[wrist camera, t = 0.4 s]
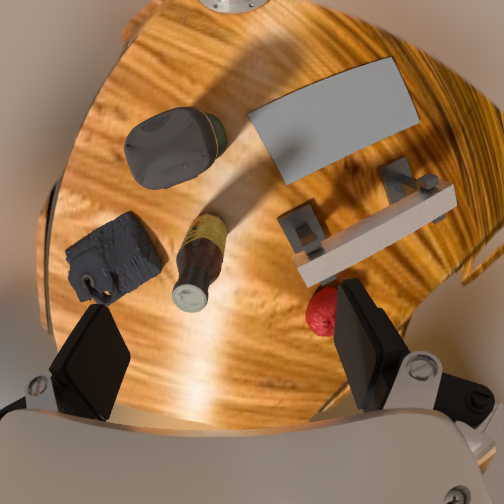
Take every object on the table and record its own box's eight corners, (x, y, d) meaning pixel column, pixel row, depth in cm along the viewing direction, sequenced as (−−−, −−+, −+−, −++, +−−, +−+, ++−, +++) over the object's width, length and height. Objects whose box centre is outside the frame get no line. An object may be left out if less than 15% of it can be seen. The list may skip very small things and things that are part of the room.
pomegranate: (293, 308, 55) (299, 339, 47) (326, 273, 52) (338, 301, 43) (327, 327, 58) (336, 357, 49) (358, 295, 54) (373, 323, 46)
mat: (247, 114, 39) (247, 114, 38) (389, 57, 34) (391, 56, 33) (286, 184, 44) (286, 185, 43) (417, 122, 39) (420, 122, 38)
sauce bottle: (197, 205, 45) (169, 261, 27) (232, 218, 46) (226, 280, 28) (186, 239, 48) (156, 308, 30) (219, 251, 49) (208, 325, 31)
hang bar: (292, 255, 38) (297, 268, 35) (439, 178, 33) (453, 184, 30) (302, 274, 39) (307, 287, 36) (443, 198, 35) (457, 205, 31)
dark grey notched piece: (175, 273, 51) (170, 287, 47) (99, 307, 54) (91, 320, 50) (133, 204, 45) (123, 212, 41) (60, 252, 48) (49, 262, 44)
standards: (277, 218, 46) (288, 250, 35) (402, 155, 42) (444, 168, 30) (296, 255, 50) (311, 294, 38) (414, 193, 45) (454, 215, 33)
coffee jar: (216, 107, 38) (197, 92, 21) (232, 152, 41) (225, 170, 25) (160, 129, 39) (108, 134, 22) (176, 173, 42) (136, 205, 26)
